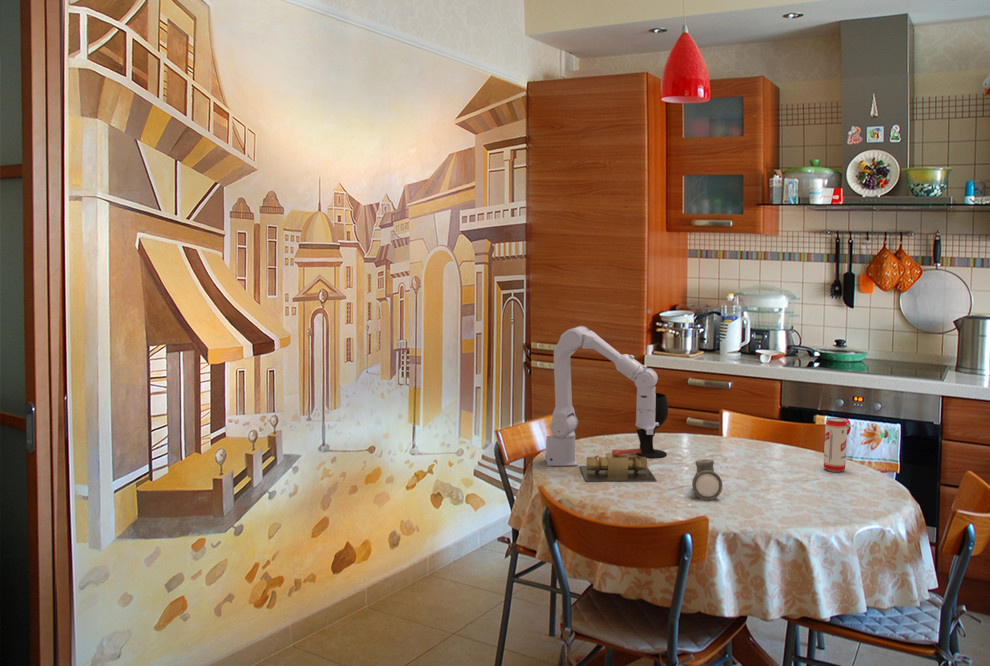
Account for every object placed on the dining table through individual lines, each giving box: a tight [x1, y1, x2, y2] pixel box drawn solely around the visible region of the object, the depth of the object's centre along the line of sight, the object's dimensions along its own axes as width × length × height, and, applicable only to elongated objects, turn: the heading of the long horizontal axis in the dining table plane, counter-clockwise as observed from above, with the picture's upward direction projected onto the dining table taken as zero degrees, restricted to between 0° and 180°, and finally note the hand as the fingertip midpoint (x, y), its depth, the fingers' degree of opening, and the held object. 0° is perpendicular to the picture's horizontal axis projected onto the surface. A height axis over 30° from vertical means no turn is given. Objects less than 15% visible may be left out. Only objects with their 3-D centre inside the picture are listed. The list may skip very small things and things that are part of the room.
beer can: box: [823, 417, 848, 473], centre depth 263 cm, size 6×6×16 cm
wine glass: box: [634, 392, 669, 459], centre depth 282 cm, size 10×10×20 cm
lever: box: [611, 447, 642, 456], centre depth 261 cm, size 12×3×2 cm, turn 106°
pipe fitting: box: [691, 459, 723, 501], centre depth 240 cm, size 12×8×10 cm
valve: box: [579, 452, 658, 483], centre depth 260 cm, size 21×16×6 cm
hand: (645, 452), depth 261 cm, fingers closed, pressing on lever
